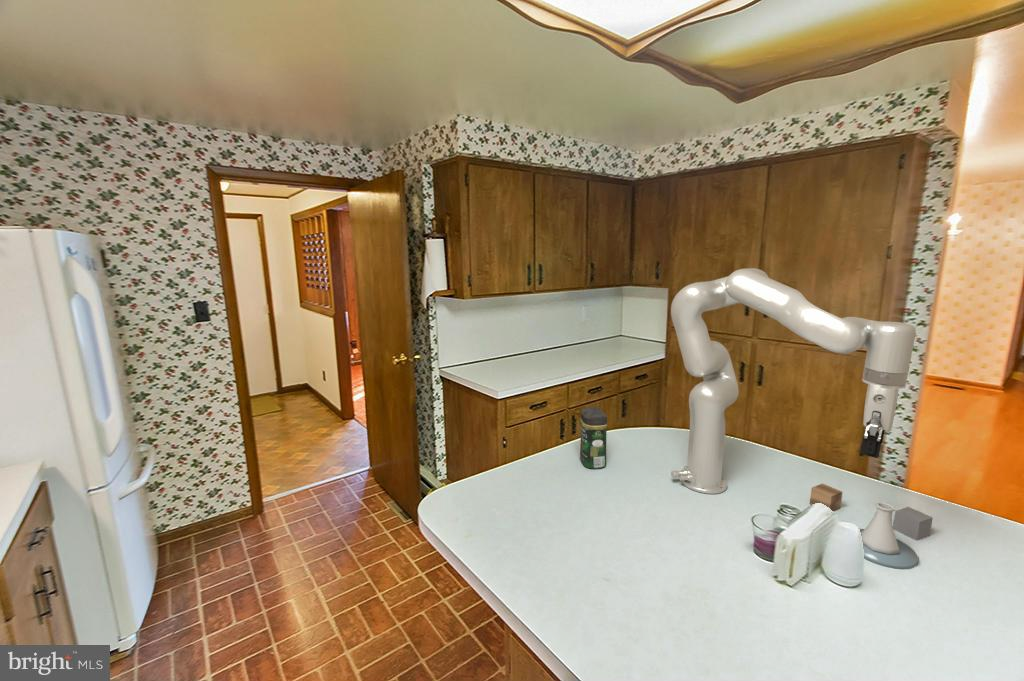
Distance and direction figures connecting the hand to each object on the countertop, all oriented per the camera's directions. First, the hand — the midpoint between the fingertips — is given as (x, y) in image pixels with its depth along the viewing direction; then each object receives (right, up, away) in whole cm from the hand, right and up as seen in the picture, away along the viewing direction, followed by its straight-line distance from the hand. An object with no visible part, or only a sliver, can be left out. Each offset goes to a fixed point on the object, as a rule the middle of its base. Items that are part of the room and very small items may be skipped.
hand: (871, 448), depth 102 cm
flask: (+2, -22, 0) cm, 22 cm away
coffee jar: (-56, -16, +44) cm, 73 cm away
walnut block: (+2, -20, +18) cm, 27 cm away
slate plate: (+2, -23, 0) cm, 23 cm away
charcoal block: (+15, -22, +6) cm, 27 cm away
